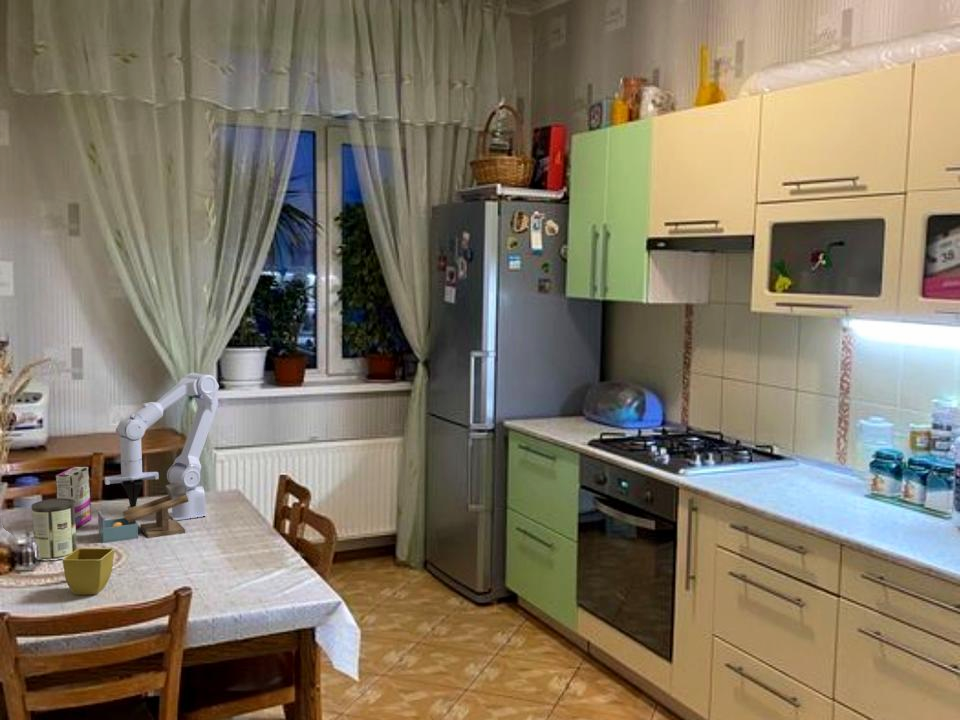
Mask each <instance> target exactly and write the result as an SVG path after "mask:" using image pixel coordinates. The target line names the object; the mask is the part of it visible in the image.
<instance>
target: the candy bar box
mask: <svg viewBox="0 0 960 720" xmlns="http://www.w3.org/2000/svg"><path fill="white" fill-rule="evenodd" d="M89 471H90V470H89V466H73V467H71V468H69V469H66V470H64V471H62V472H61V473H58V474H56V475H55V484H56V485H55V487H56V488H55V489H56V499H58V498H67V499H73V500H74V501H75V526H76V530H77V529H79V528H80V527H82V526H84V525H85V524H87V523H89V522H91V520H92V509H91V508H92V505H91V490H90V489H91V487H90V472H89Z"/></svg>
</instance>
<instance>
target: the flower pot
mask: <svg viewBox="0 0 960 720" xmlns="http://www.w3.org/2000/svg"><path fill="white" fill-rule="evenodd" d="M114 557H115V548H106V547H105V548H104V547H103V548H101V547H100V548H94V547H92V548H88V547H87V548H77V549H76V550H75V551H73V552H72V553H71V554H69V555H68V556H66V557H65V558H64V559H63V560H62V566H63V567H62V568H63V572H64V577H65V581H66V584H67V585H68V588H69V589H70V590H71V592H72V593H73V594H74V595H98V594H99V593H100V592H101V591H102V590H103V589H104V588H105V587H106V585H107V584H108V583H109V580H110V578H111V576H112V571H113V565H114Z"/></svg>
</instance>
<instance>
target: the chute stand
mask: <svg viewBox="0 0 960 720" xmlns="http://www.w3.org/2000/svg"><path fill="white" fill-rule="evenodd" d="M155 518H156V519H155V521H154V522H150V523H149V522H147V523H141V524H140V523H139V524H140V525H139V526H140V527H139V528H140V529H141V530H142V532H143V533H144V534H145V536H146V537H147V538H148V539H151V538H158V537H165V536H172V535H177V534H178V535H181V534H185V533H186V528H184V526H183V525H182V524H181V523H179V522H178V520H173V519H172V520H171V519H170V520H169V509H168V507H162V508H161V512H158V513H155Z"/></svg>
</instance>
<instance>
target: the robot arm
mask: <svg viewBox="0 0 960 720" xmlns="http://www.w3.org/2000/svg"><path fill="white" fill-rule="evenodd" d="M219 388H220V385H219V383H218V381H217V380H216V378H215V377H214V376H213V375H210V374H202V373H197V372H191V373H188V374H186V375H185V376H184V377H182V378H180V380H179V381H178V382H177V384H175V385H174V386H173V387H171V389H170V390H169V391H167V392H166V393H165V394H163V396H162V397H160V398H159V399H158V400H157V401H155V402H154V401H149V402H144V403H143V404H142V407H141V408H139V409H138V410H137V411H135V413H130V415H129V418H123V419H122V420H120V421H119V423H118V425H117V427H116V428H115V432H116V434H117V435H118V438H119V441H120V442H119V443H120V447H119V448H120V450H119V451H120V472H121V473H120V474H117V475H110V476H105V477H104V484H105V485H107V486H108V485H109V486H110V484H111V485H113V484H121V485H122V487H123V489H124V491H125V493H126V496H127V498H128V503H129V506H131V507H135V506H136V504H137V502H138V498H139V494H140V492H141V491H142V487H143V485H144V482H143V481H148V480H159V476H160V475H159V472H158V471H145V472H143V453H142V438H143V437H144V435H145V433H146V430H147V429H148V428H150V427H151V426H153V425H154V424H155V423H156V422H157V421H160V419H161V418H163V415H164V411H165V410H167V409H168V408H170V407H171V406H173V405H174V404H176V402H178V401H180V400H181V399H182V398H183V399H184V397H187V396H191V397H192V398H193V399H194V400H195V402H196V404H197V410H196V413H195V414H194V418H193V421H192V423H191V426H190V429H189V432H188V434H187V437H186V440H185V443H184V444H183V448H182V451H181V454H180V455H179V456H177V457H176V458H175V459H174V462H173V463H172V465H171V466H170V467H169V468H168V470H167V473H166V478H167V481H168V482H169V484H172V483H175V482H177V481H180V482H181V483H182V484H183V485H184V488H185V492H186V495H187V497H188V502H186V503H183V504H180V505H177V506H175V507H172V508H171V513H169V512H168V517H170V518H171V519H172V520H176V521H182V520H190V518H191V519H198V518H204V517H203V516H205V517H207V514H206V494H205V489H204V487H203V485H199V483H200V482H201V481H200V480H201V470H202V464H201V461H200V458H201V455H202V452H203V448H204V446H205V443H206V440H207V438H208V434H209V432H210V429H211V427H212V426H211V425H212V424H213V420H214V418H215V415H216V412H217V409H218V407H219V397H218V390H219ZM197 517H198V518H197Z"/></svg>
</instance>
